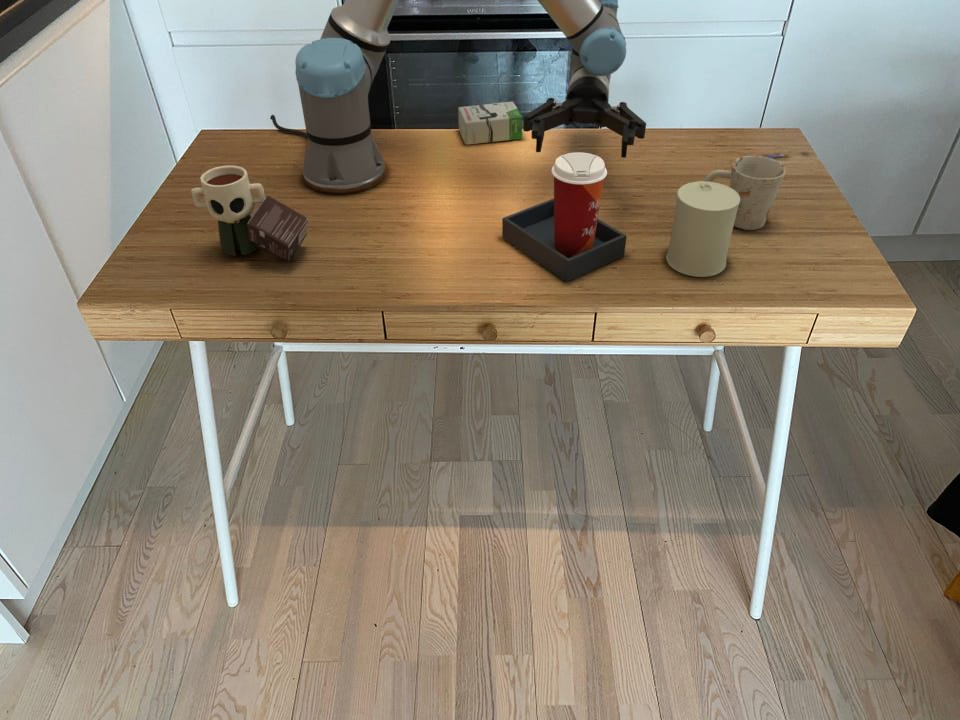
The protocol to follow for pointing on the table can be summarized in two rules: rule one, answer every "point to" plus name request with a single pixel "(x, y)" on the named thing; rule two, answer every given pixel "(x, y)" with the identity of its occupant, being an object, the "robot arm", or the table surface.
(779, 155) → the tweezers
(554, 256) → the tray
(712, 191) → the can
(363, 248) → the table surface
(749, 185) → the mug
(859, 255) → the table surface
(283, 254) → the box
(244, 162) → the table surface
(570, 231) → the coffee cup
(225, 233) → the character mug
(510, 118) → the ink box
